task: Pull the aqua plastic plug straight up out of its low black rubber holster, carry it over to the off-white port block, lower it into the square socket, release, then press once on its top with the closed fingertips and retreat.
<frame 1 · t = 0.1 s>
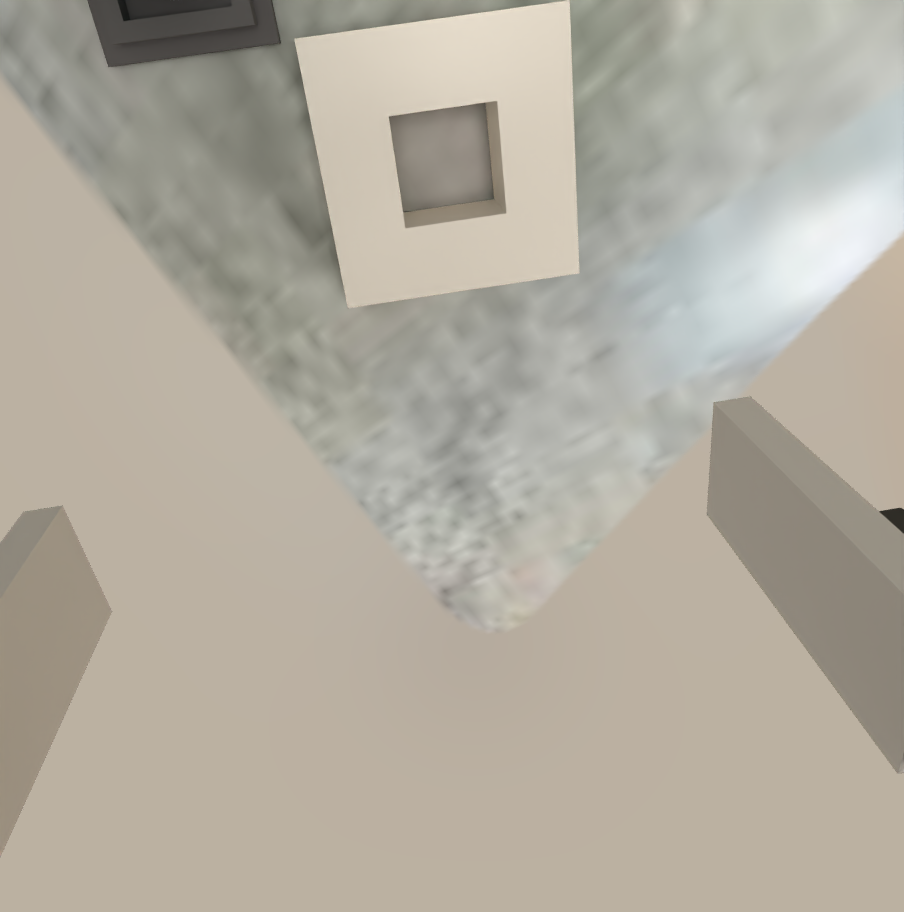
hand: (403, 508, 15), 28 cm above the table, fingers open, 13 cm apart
port: (442, 156, 38), on the table
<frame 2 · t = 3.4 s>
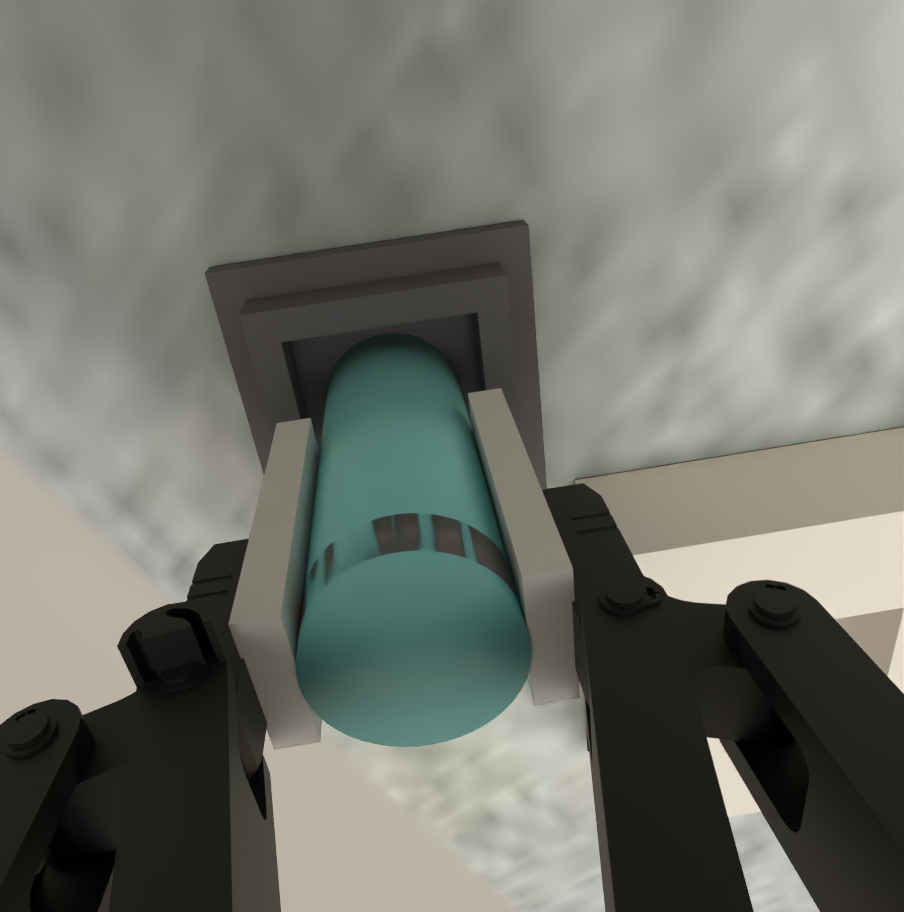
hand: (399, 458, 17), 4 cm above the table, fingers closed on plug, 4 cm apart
plug: (394, 396, 20), point 1 cm above the table, touching gripper, holster
port: (749, 597, 26), on the table
holster: (393, 387, 20), on the table
when the fingers open (5 cm above the table, at t = 8.2 s): plug drops 2 cm, resting in port.
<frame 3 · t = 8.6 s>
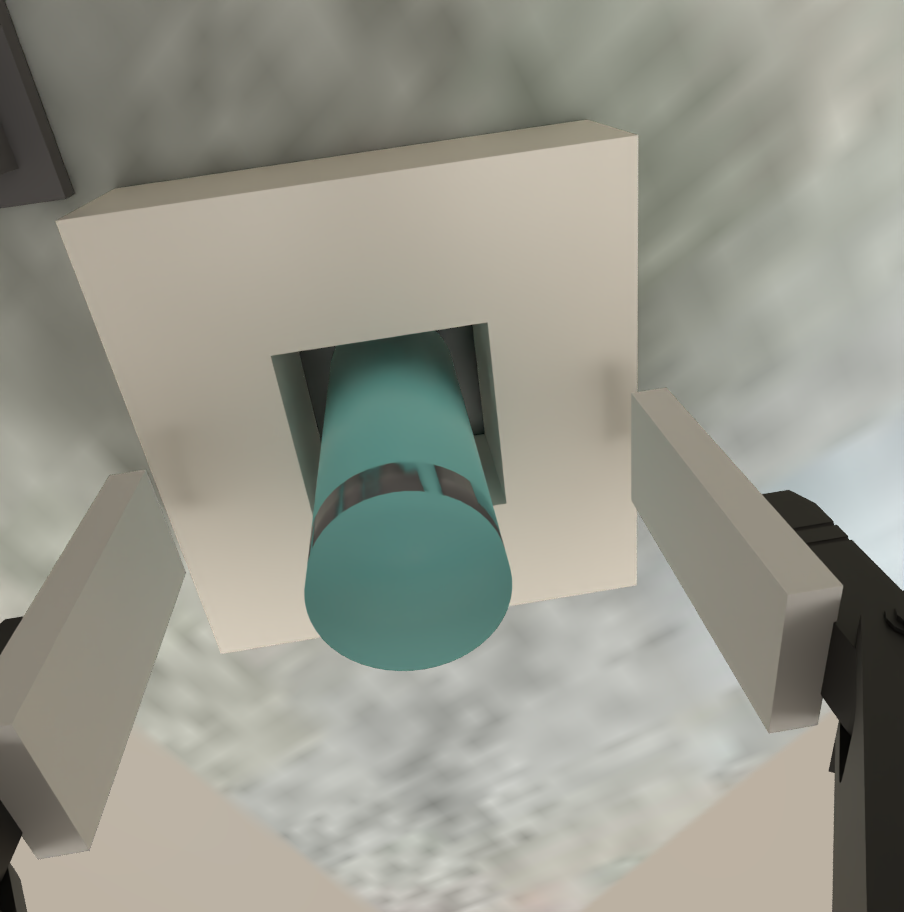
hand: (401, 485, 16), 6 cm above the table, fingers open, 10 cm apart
plug: (392, 373, 21), resting in port
port: (392, 372, 21), on the table
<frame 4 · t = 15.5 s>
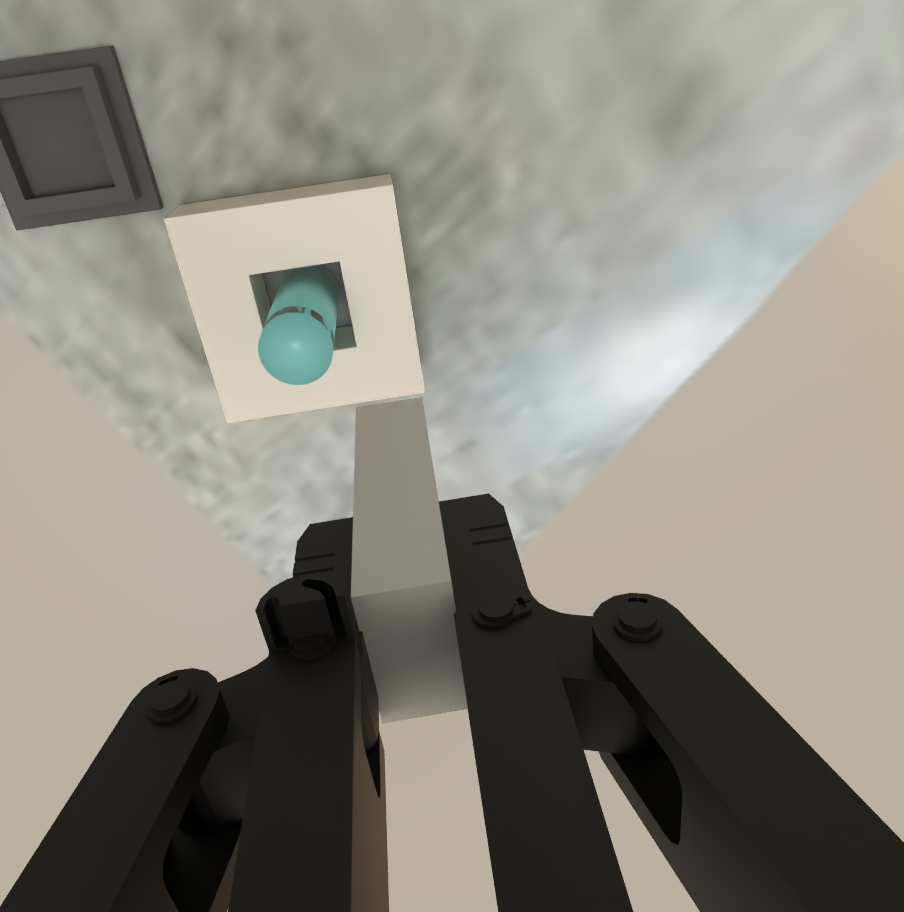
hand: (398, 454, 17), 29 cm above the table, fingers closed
plug: (309, 292, 44), resting in port
port: (309, 291, 44), on the table
holster: (65, 141, 39), on the table
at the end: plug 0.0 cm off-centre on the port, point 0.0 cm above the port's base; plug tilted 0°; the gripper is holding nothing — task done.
